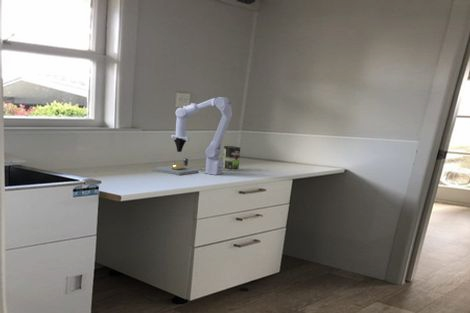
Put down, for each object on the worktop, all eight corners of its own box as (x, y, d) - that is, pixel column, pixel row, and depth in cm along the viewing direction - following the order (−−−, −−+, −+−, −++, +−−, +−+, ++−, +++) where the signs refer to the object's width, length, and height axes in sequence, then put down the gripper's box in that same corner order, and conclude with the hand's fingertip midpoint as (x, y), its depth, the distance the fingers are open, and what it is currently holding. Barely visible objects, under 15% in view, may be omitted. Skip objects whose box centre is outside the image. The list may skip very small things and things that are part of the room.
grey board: (198, 172, 264) (199, 169, 264) (179, 175, 249) (179, 172, 249) (173, 167, 274) (173, 165, 274) (153, 170, 259) (153, 167, 259)
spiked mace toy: (178, 170, 256) (179, 160, 256) (169, 168, 259) (169, 159, 259) (191, 168, 267) (191, 159, 266) (181, 166, 270) (182, 157, 269)
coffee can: (242, 170, 286) (243, 147, 284) (229, 171, 279) (231, 148, 278) (231, 167, 294) (233, 145, 292) (218, 168, 287) (220, 145, 285)
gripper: (194, 129, 265) (192, 153, 267) (178, 127, 275) (177, 150, 277) (184, 129, 260) (183, 153, 262) (169, 127, 270) (167, 150, 272)
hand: (179, 151), depth 269 cm, fingers closed
